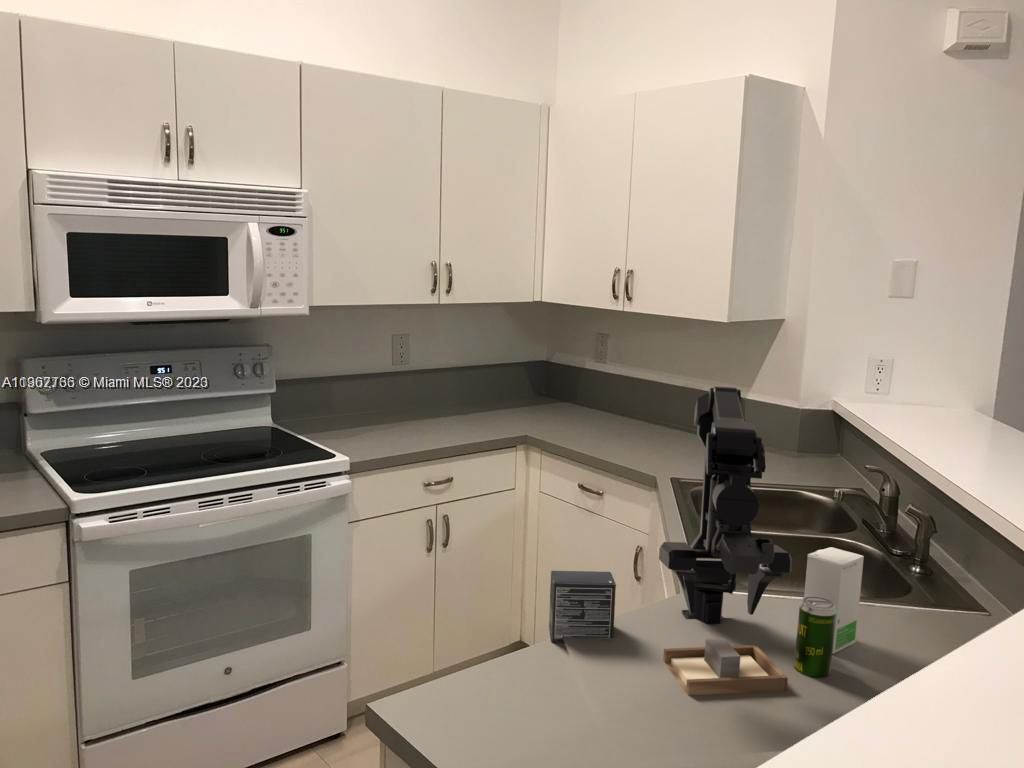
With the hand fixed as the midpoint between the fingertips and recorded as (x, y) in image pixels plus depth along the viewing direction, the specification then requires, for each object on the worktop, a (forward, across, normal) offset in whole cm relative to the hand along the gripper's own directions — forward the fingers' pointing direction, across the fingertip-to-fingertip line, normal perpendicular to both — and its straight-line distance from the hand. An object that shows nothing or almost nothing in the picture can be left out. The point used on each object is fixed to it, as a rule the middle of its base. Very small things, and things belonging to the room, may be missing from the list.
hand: (720, 613), depth 127 cm
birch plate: (+10, +1, +2) cm, 10 cm away
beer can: (+11, +17, +3) cm, 20 cm away
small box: (+11, -17, +18) cm, 27 cm away
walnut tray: (+11, +2, +2) cm, 11 cm away
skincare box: (+10, +25, +15) cm, 31 cm away
